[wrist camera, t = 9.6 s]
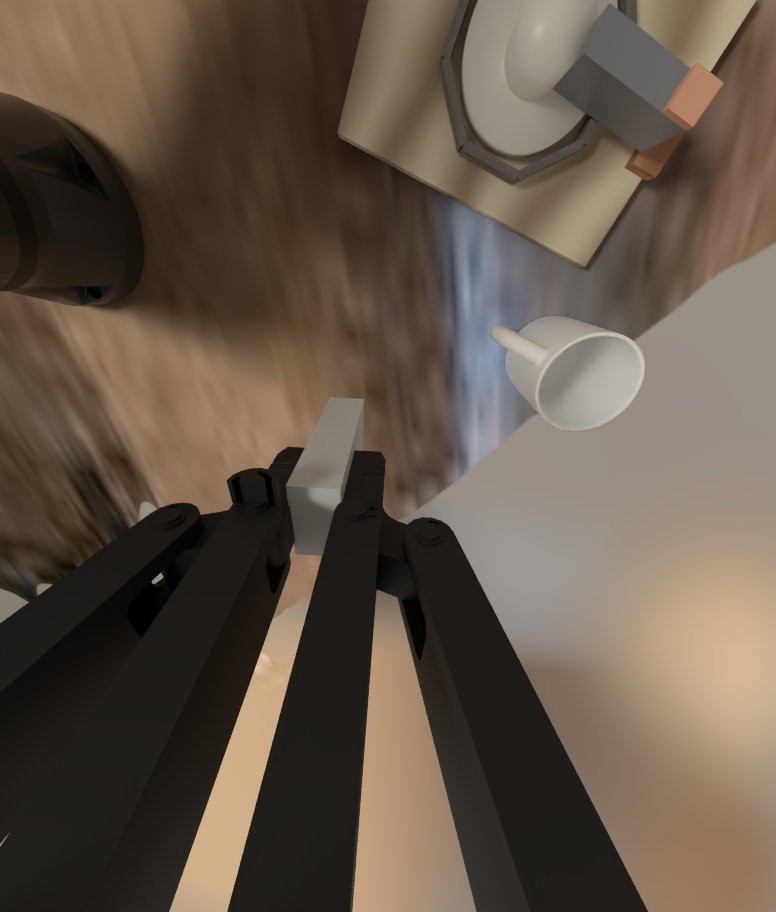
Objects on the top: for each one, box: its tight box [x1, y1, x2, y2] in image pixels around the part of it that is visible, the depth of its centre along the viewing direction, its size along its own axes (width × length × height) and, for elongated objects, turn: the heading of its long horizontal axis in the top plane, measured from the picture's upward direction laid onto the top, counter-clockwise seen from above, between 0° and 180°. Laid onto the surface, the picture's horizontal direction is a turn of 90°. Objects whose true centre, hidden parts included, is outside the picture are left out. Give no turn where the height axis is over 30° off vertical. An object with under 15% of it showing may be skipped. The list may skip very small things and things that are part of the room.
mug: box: [490, 316, 645, 431], centre depth 30 cm, size 12×8×10 cm
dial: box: [460, 0, 723, 160], centre depth 20 cm, size 15×10×7 cm, turn 65°
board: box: [338, 0, 756, 267], centre depth 23 cm, size 24×17×3 cm
